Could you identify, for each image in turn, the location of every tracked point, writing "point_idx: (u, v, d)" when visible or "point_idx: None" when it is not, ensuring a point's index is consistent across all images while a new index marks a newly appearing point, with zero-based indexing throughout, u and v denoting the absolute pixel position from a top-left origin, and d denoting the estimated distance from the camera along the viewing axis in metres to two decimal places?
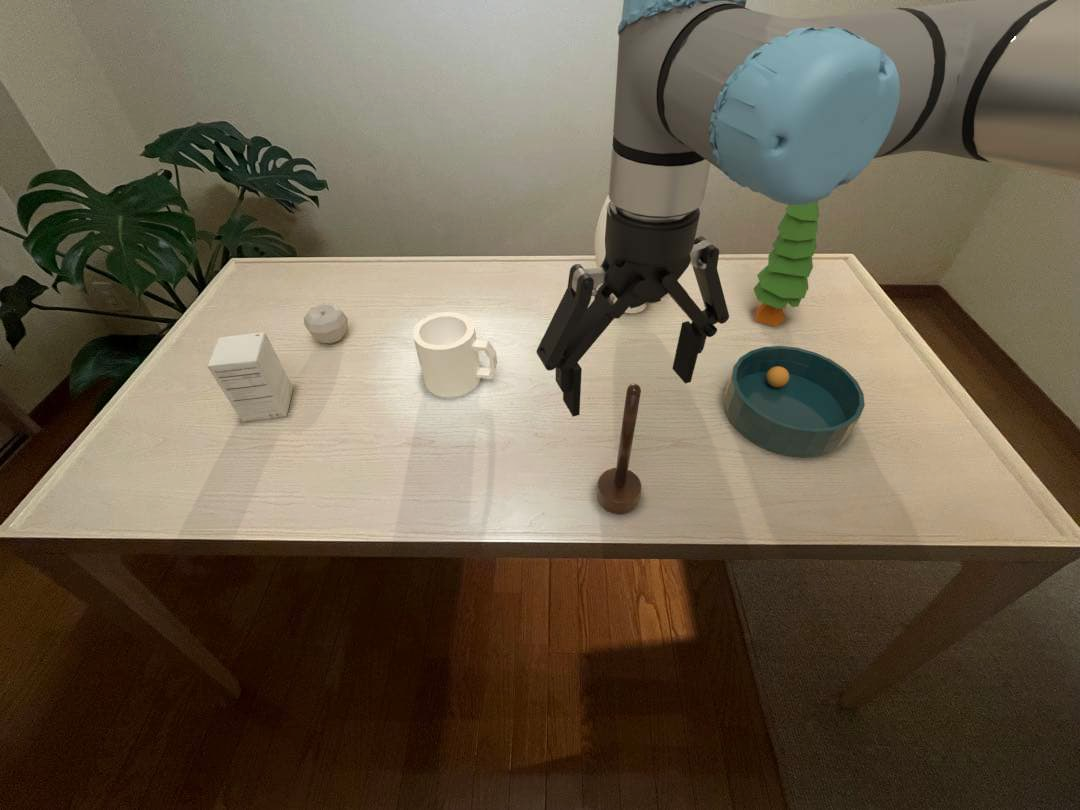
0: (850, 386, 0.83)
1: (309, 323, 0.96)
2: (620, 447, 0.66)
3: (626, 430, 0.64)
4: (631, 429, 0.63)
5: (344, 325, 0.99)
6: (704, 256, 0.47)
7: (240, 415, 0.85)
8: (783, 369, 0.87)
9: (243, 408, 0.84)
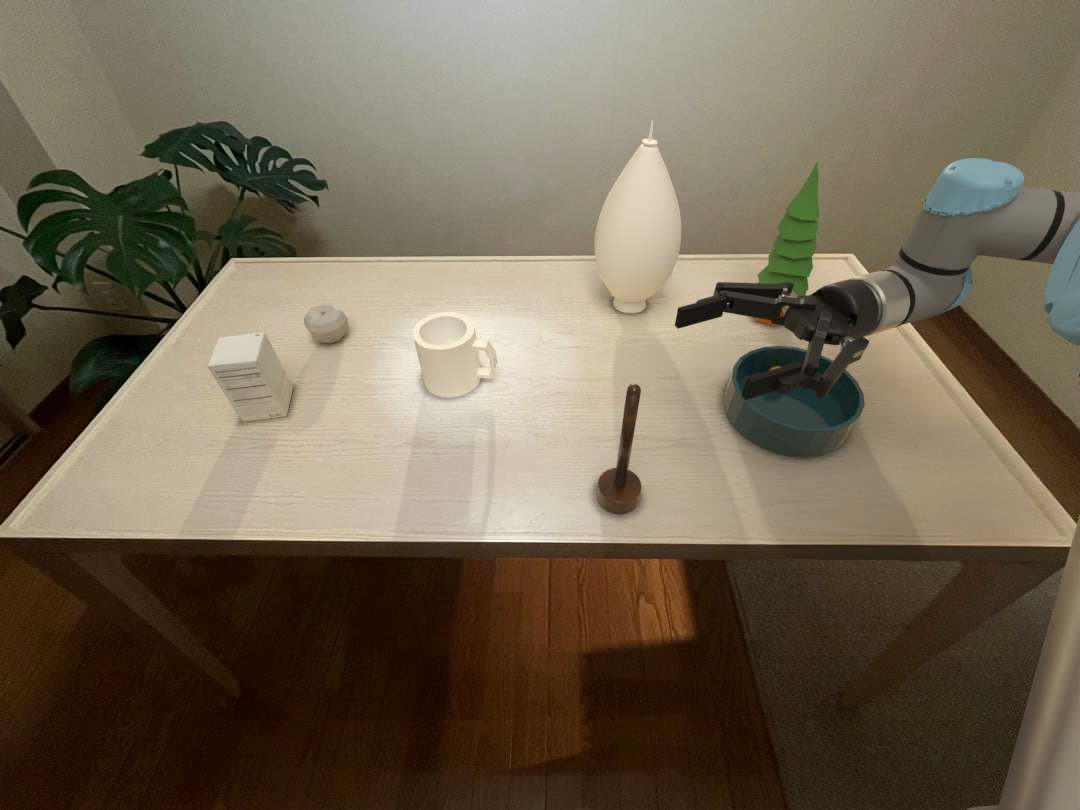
0: (850, 386, 0.83)
1: (309, 323, 0.96)
2: (620, 447, 0.66)
3: (626, 430, 0.64)
4: (631, 429, 0.63)
5: (344, 325, 0.99)
6: None
7: (240, 415, 0.85)
8: None
9: (243, 408, 0.84)
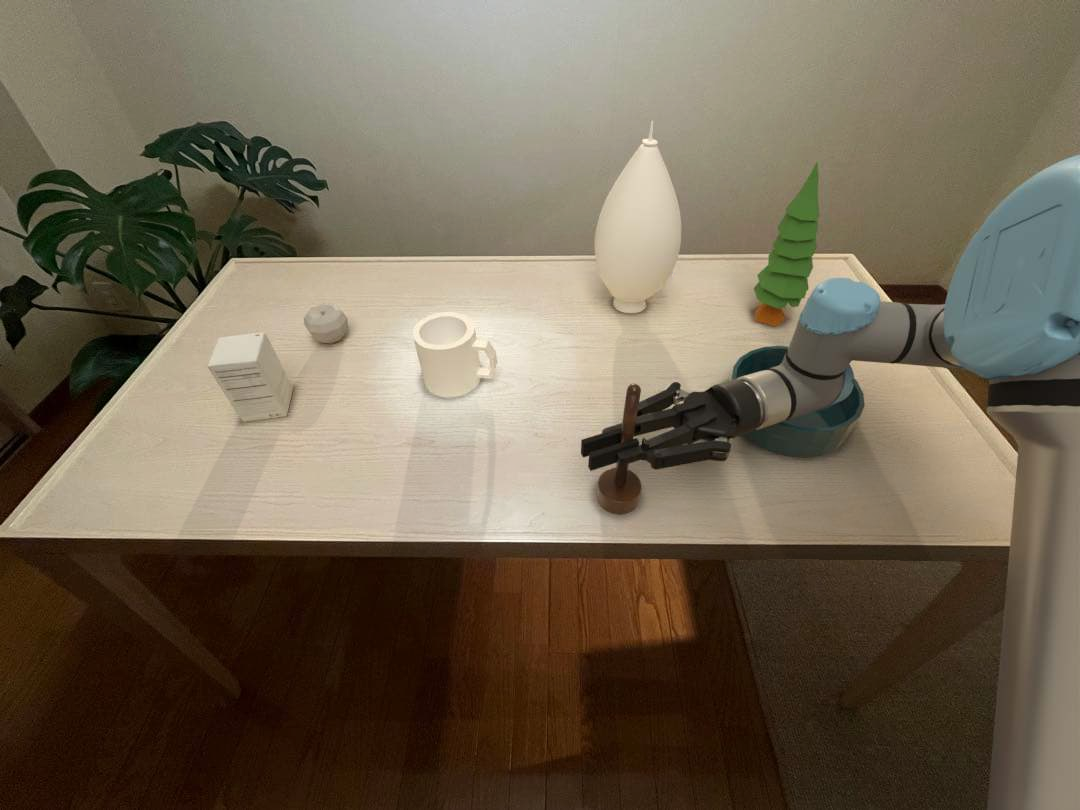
0: None
1: (309, 323, 0.96)
2: None
3: (626, 430, 0.64)
4: (631, 429, 0.63)
5: (344, 325, 0.99)
6: None
7: (240, 415, 0.85)
8: None
9: (243, 408, 0.84)
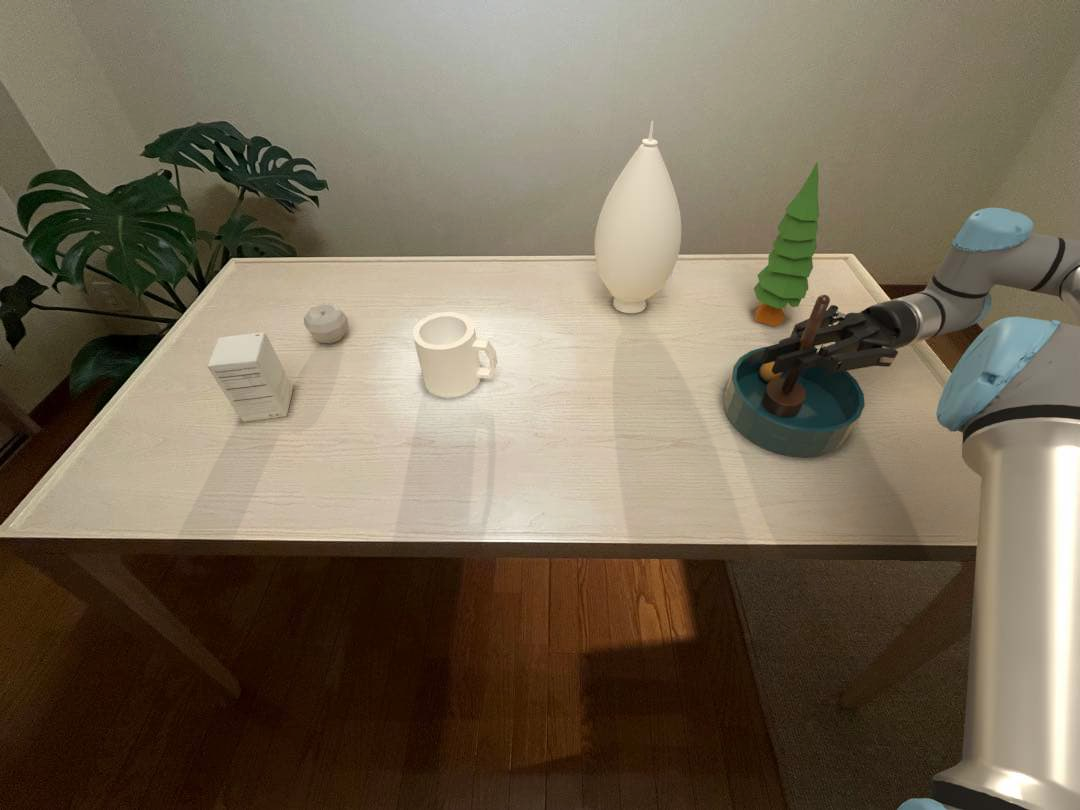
0: (850, 386, 0.83)
1: (309, 323, 0.96)
2: None
3: (808, 338, 0.74)
4: (813, 337, 0.74)
5: (344, 325, 0.99)
6: None
7: (240, 415, 0.85)
8: None
9: (243, 408, 0.84)
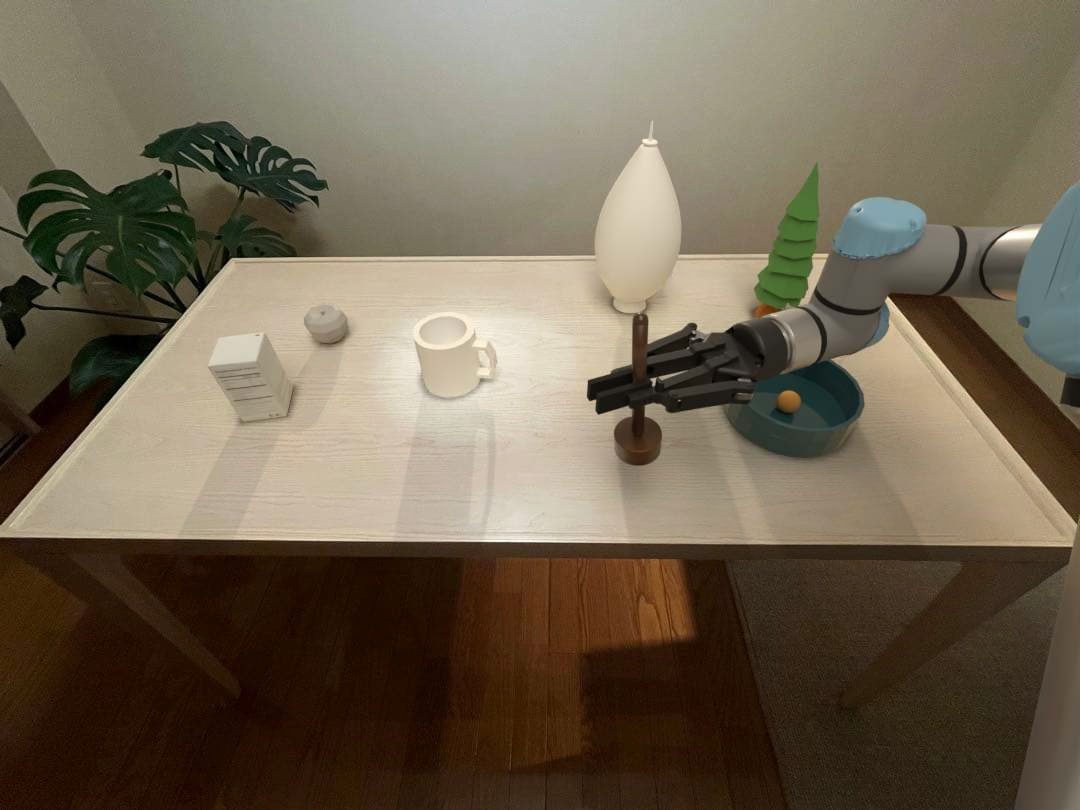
0: (850, 386, 0.83)
1: (309, 323, 0.96)
2: None
3: (637, 368, 0.57)
4: (642, 367, 0.56)
5: (344, 325, 0.99)
6: None
7: (240, 415, 0.85)
8: None
9: (243, 408, 0.84)
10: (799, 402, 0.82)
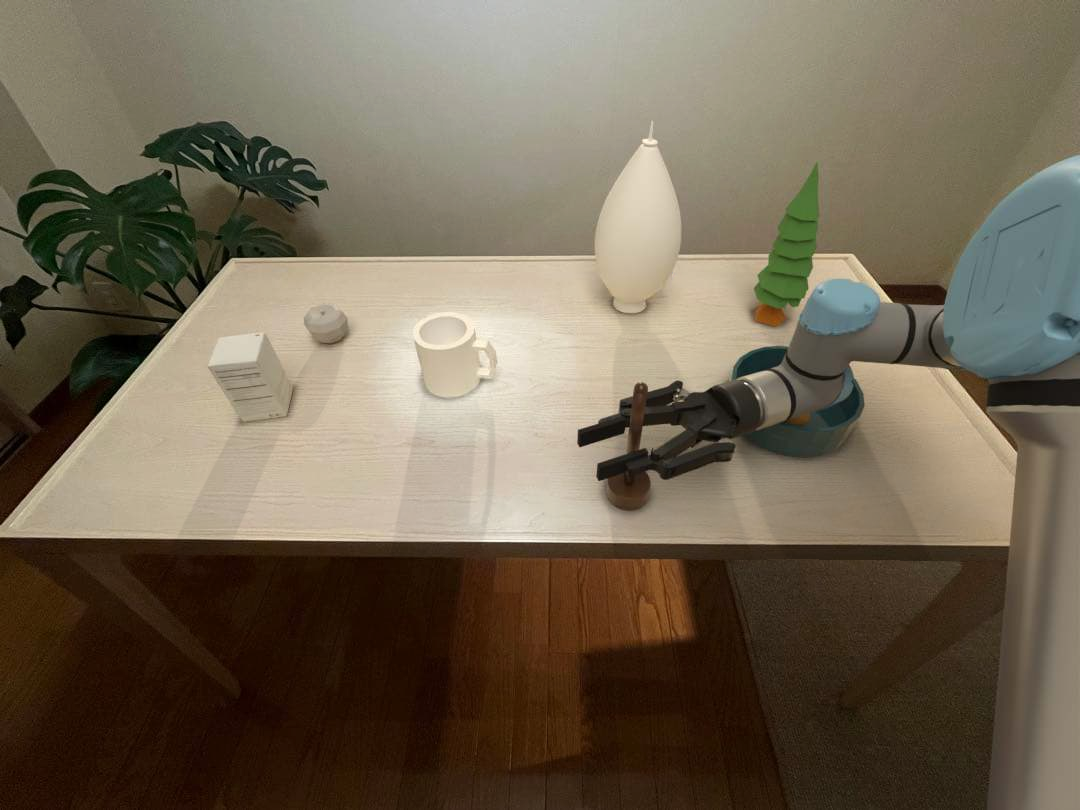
0: None
1: (309, 323, 0.96)
2: (628, 444, 0.67)
3: (634, 428, 0.64)
4: (639, 427, 0.64)
5: (344, 325, 0.99)
6: None
7: (240, 415, 0.85)
8: None
9: (243, 408, 0.84)
10: None
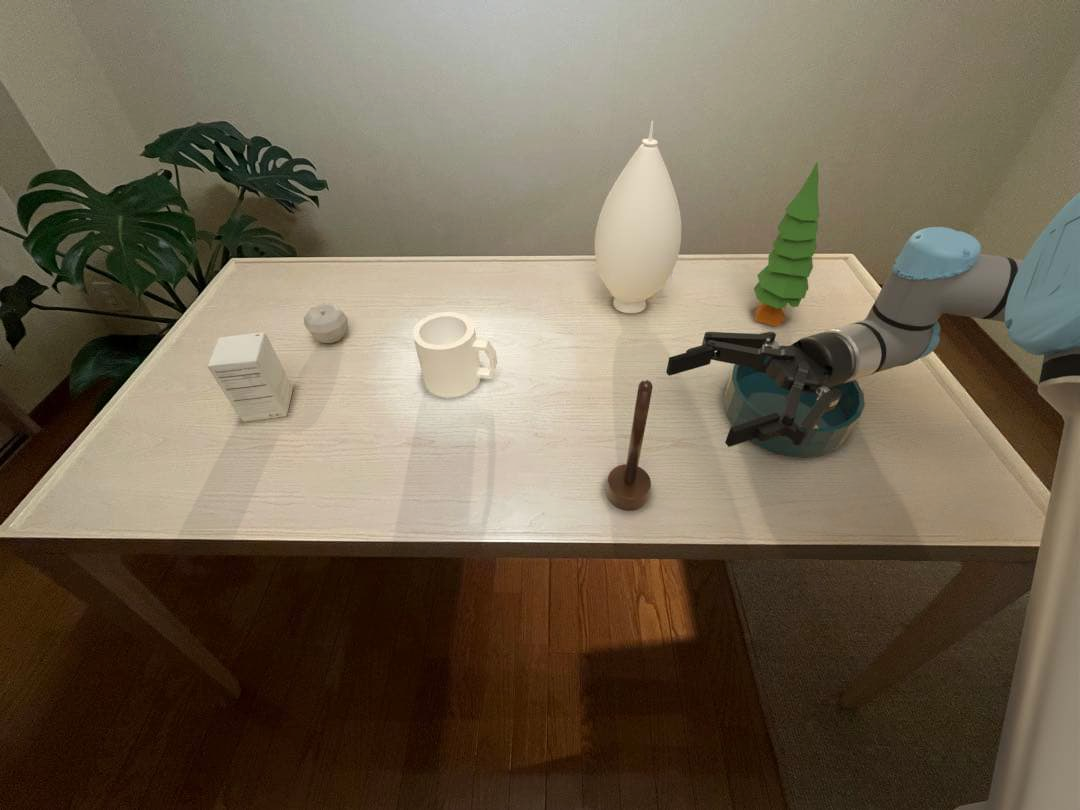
0: (850, 386, 0.83)
1: (309, 323, 0.96)
2: (631, 443, 0.67)
3: (637, 426, 0.64)
4: (642, 426, 0.64)
5: (344, 325, 0.99)
6: None
7: (240, 415, 0.85)
8: None
9: (243, 408, 0.84)
10: None
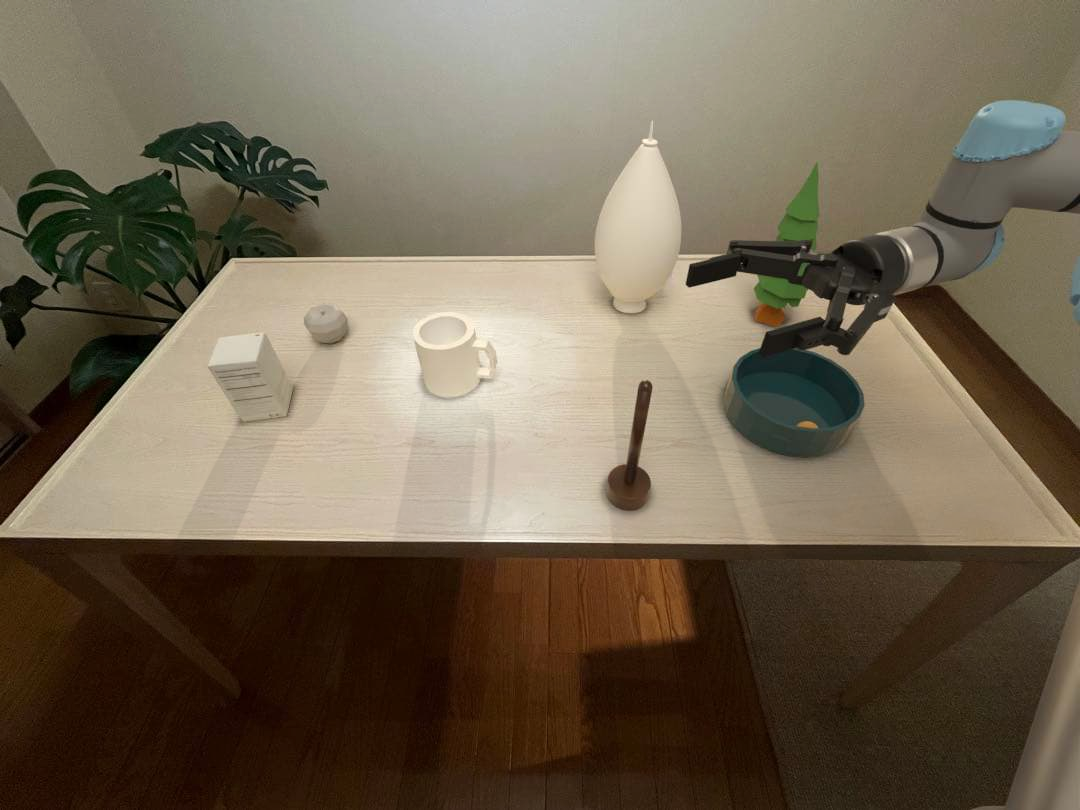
0: (850, 386, 0.83)
1: (309, 323, 0.96)
2: (631, 443, 0.67)
3: (637, 426, 0.64)
4: (642, 426, 0.64)
5: (344, 325, 0.99)
6: None
7: (240, 415, 0.85)
8: None
9: (243, 408, 0.84)
10: None
